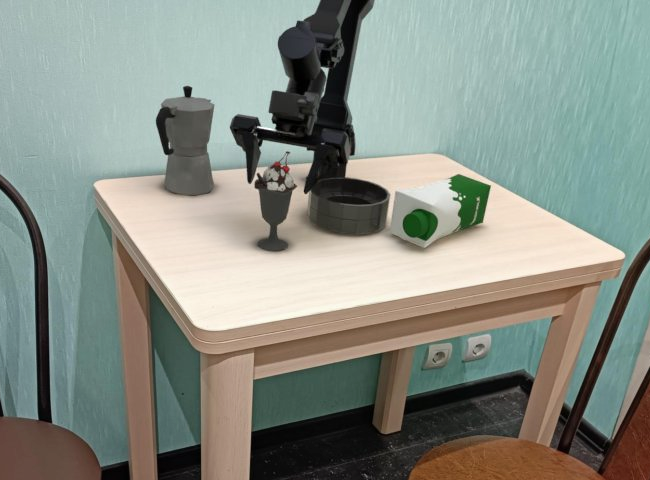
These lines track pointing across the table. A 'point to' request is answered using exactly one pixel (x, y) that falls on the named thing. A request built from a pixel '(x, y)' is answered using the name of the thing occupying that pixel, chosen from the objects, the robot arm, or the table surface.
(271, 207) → the sundae
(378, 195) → the bowl
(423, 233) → the milk carton
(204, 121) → the coffeepot
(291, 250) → the table surface
